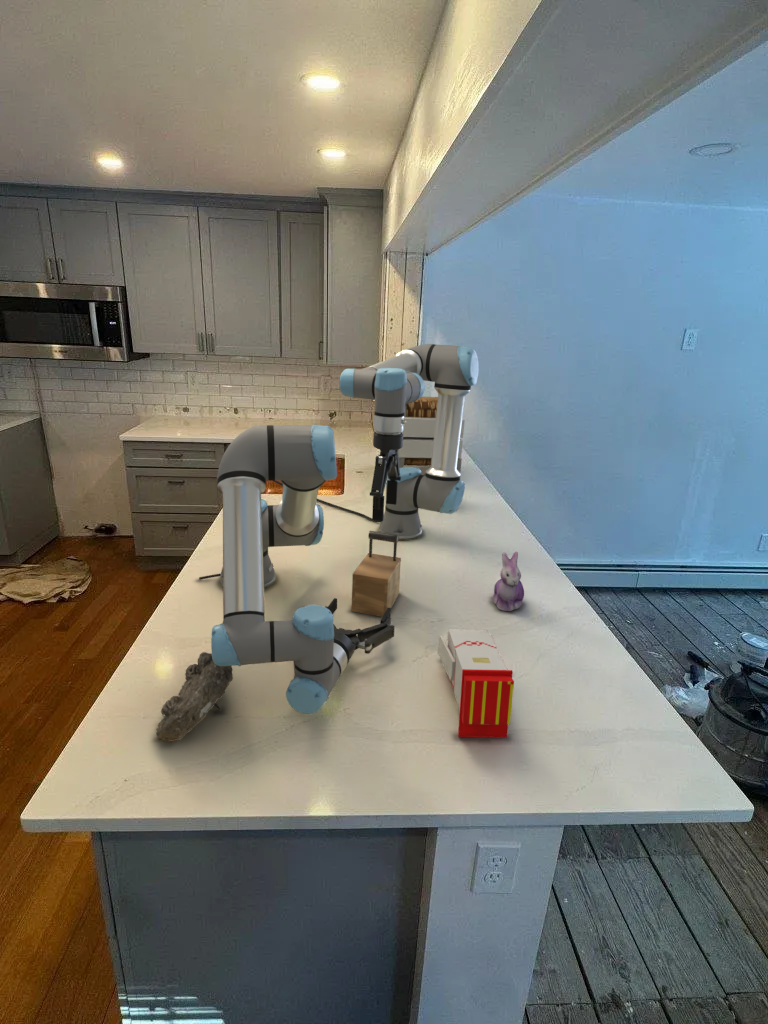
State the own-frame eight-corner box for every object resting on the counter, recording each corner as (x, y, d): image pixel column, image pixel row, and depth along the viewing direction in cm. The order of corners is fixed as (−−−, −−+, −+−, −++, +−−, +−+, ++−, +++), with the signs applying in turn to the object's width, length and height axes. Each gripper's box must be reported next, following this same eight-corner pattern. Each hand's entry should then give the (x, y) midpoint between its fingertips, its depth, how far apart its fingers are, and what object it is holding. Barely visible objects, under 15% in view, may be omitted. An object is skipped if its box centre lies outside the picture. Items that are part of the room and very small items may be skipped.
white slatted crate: (382, 463, 289) (386, 382, 275) (445, 464, 293) (451, 384, 279) (390, 482, 257) (394, 392, 243) (460, 483, 261) (468, 394, 247)
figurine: (506, 615, 149) (513, 563, 144) (482, 598, 157) (488, 548, 152) (534, 608, 153) (541, 558, 148) (509, 592, 161) (516, 543, 156)
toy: (488, 613, 130) (523, 677, 101) (484, 667, 133) (517, 744, 104) (435, 612, 130) (455, 676, 101) (432, 666, 133) (451, 743, 103)
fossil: (183, 653, 120) (233, 621, 115) (215, 683, 122) (265, 653, 117) (132, 735, 100) (190, 701, 95) (171, 768, 103) (229, 737, 98)
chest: (366, 588, 160) (367, 557, 157) (398, 593, 158) (400, 562, 155) (351, 611, 148) (352, 577, 145) (386, 617, 146) (387, 583, 142)
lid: (368, 556, 157) (369, 527, 154) (401, 561, 155) (402, 532, 152) (352, 577, 145) (353, 546, 142) (387, 583, 142) (389, 552, 139)
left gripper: (277, 659, 123) (314, 612, 142) (388, 682, 117) (411, 630, 136) (276, 629, 120) (314, 585, 140) (389, 651, 114) (413, 602, 134)
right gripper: (390, 443, 130) (386, 529, 137) (413, 424, 152) (409, 499, 160) (359, 440, 131) (356, 525, 139) (386, 422, 154) (383, 496, 161)
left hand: (362, 607), depth 138 cm, fingers open, 13 cm apart
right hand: (384, 511), depth 149 cm, fingers open, 13 cm apart
